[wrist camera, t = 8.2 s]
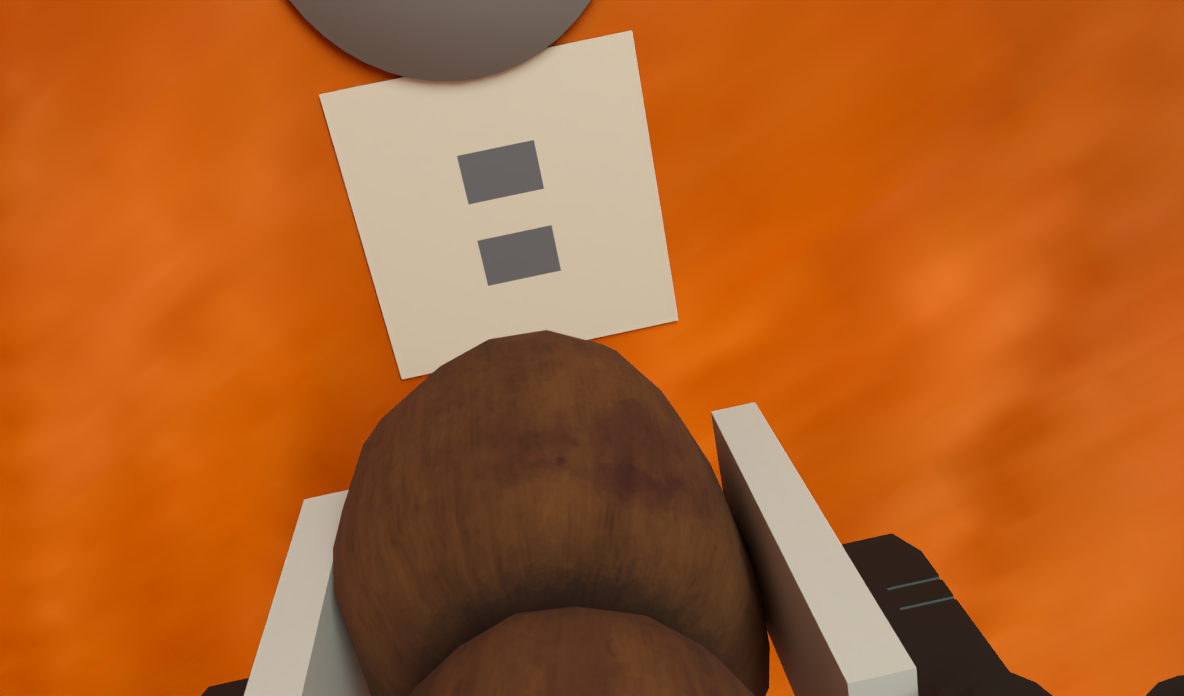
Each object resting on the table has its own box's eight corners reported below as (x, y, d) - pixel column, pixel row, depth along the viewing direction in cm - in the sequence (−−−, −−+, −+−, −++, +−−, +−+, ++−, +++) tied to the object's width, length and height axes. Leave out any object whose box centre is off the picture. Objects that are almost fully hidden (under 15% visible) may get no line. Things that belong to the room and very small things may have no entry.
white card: (401, 378, 38) (401, 379, 38) (319, 94, 34) (318, 94, 33) (677, 319, 38) (678, 320, 38) (631, 30, 34) (632, 30, 34)
